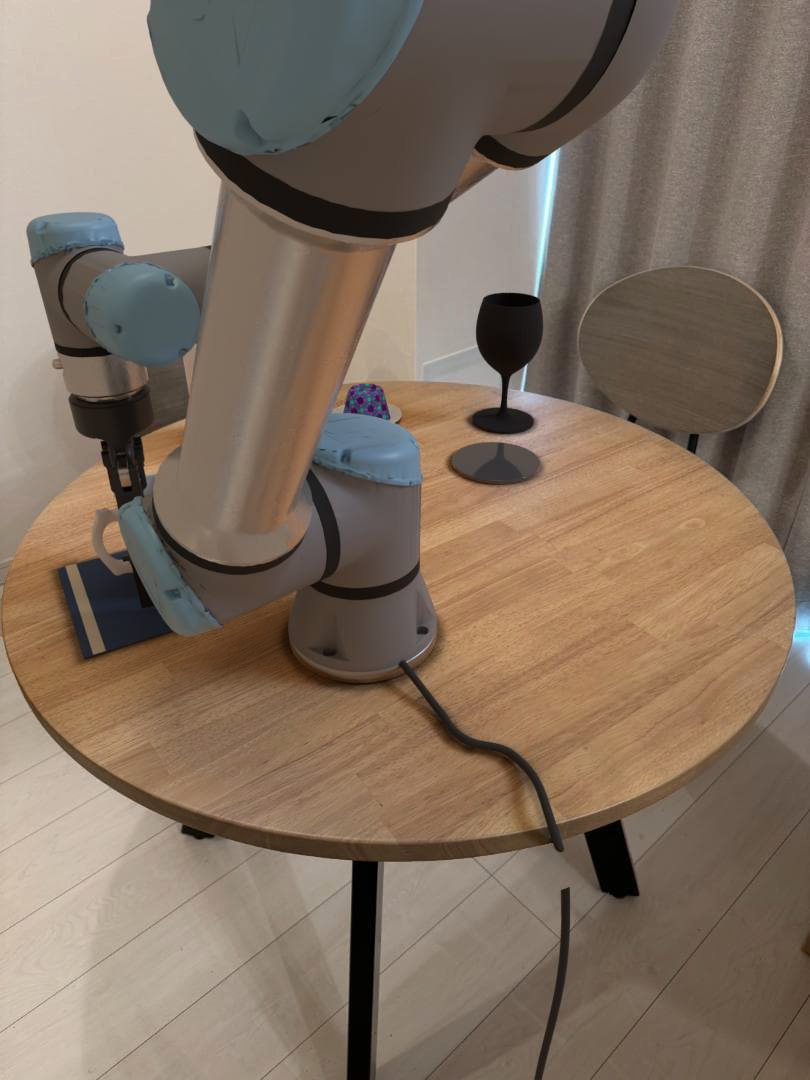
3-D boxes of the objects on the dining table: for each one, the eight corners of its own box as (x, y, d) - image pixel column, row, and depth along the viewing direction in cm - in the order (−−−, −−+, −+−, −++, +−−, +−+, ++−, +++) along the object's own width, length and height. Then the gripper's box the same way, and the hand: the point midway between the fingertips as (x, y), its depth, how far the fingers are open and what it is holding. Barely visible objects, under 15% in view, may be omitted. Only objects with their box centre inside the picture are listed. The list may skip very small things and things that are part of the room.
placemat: (256, 604, 81) (256, 602, 81) (84, 659, 73) (83, 657, 73) (207, 530, 94) (207, 528, 94) (57, 570, 86) (57, 568, 86)
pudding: (392, 436, 118) (392, 405, 115) (321, 429, 121) (319, 398, 118) (409, 408, 128) (409, 379, 125) (343, 402, 130) (342, 373, 128)
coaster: (555, 476, 106) (556, 472, 106) (473, 490, 103) (473, 486, 102) (514, 440, 117) (515, 436, 116) (438, 452, 113) (438, 449, 113)
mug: (188, 558, 88) (170, 468, 82) (206, 586, 83) (189, 493, 77) (101, 584, 84) (75, 491, 77) (114, 615, 79) (88, 519, 72)
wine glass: (466, 430, 120) (472, 306, 109) (476, 407, 128) (482, 289, 118) (530, 437, 118) (543, 310, 107) (536, 412, 126) (548, 293, 116)
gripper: (69, 357, 79) (114, 535, 91) (63, 439, 61) (119, 646, 73) (143, 350, 81) (177, 524, 93) (156, 426, 63) (196, 629, 75)
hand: (151, 578), depth 83 cm, fingers open, 9 cm apart
